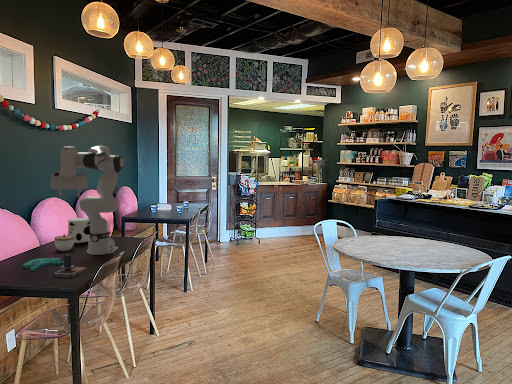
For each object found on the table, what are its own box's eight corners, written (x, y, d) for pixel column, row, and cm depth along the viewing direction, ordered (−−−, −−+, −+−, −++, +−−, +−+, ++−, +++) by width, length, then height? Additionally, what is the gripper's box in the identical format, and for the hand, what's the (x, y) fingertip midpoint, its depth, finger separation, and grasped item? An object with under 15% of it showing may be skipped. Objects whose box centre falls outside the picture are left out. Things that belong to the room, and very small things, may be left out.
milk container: (62, 243, 286) (61, 220, 284) (80, 239, 302) (80, 217, 300) (78, 246, 279) (78, 222, 278) (97, 241, 295) (96, 219, 293)
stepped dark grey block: (64, 266, 226) (63, 253, 226) (75, 267, 226) (74, 254, 225) (60, 268, 222) (59, 255, 222) (71, 268, 222) (70, 255, 221)
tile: (76, 268, 223) (76, 266, 223) (86, 269, 223) (86, 267, 222) (70, 271, 217) (70, 269, 217) (80, 272, 217) (80, 270, 217)
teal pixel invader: (67, 265, 231) (53, 259, 243) (67, 261, 230) (53, 255, 243) (31, 272, 215) (18, 265, 228) (31, 268, 215) (18, 262, 228)
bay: (63, 272, 215) (63, 268, 214) (81, 273, 213) (81, 269, 213) (53, 276, 206) (53, 273, 206) (71, 278, 204) (71, 274, 204)
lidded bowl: (78, 248, 273) (77, 233, 272) (67, 252, 260) (67, 236, 259) (61, 247, 274) (61, 232, 273) (50, 251, 262) (50, 235, 261)
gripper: (89, 173, 229) (89, 196, 230) (53, 173, 226) (53, 196, 227) (85, 174, 223) (86, 197, 224) (48, 173, 220) (49, 197, 221)
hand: (69, 196), depth 226 cm, fingers open, 8 cm apart
